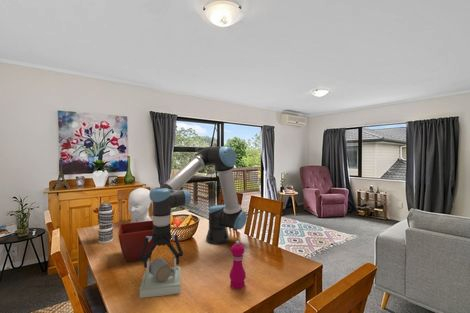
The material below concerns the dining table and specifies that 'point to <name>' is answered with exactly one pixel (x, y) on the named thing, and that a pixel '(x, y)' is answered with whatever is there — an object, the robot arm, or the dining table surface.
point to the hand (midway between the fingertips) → (162, 273)
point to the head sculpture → (139, 205)
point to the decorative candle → (105, 223)
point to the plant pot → (135, 239)
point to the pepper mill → (237, 267)
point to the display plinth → (160, 285)
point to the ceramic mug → (161, 270)
